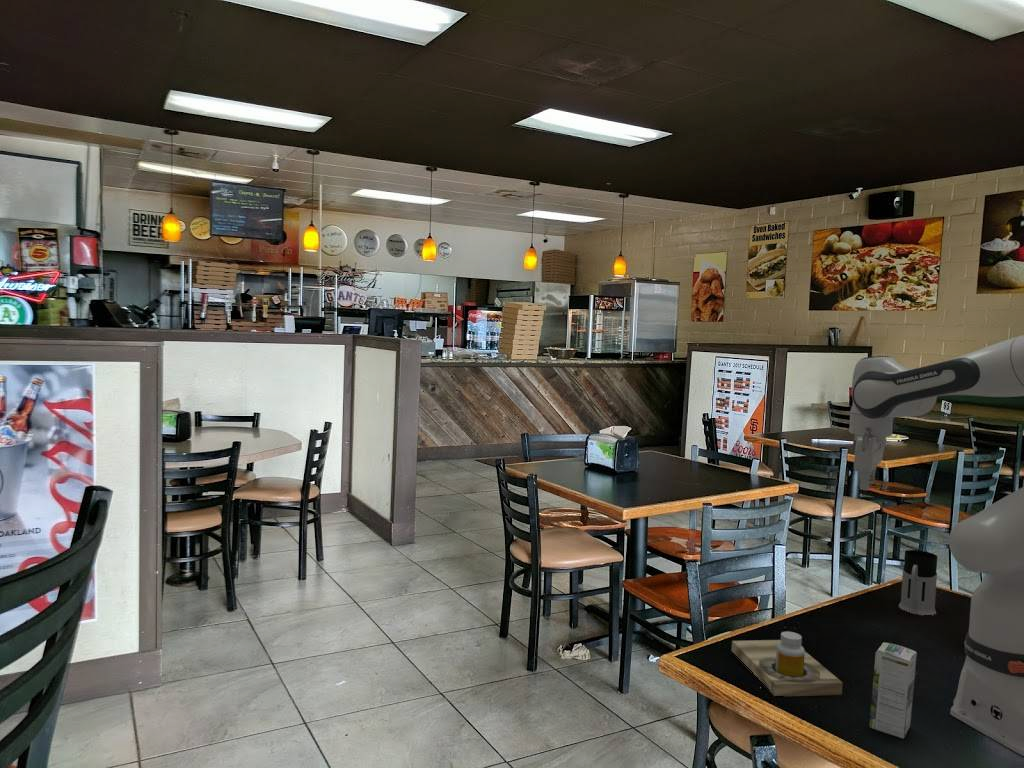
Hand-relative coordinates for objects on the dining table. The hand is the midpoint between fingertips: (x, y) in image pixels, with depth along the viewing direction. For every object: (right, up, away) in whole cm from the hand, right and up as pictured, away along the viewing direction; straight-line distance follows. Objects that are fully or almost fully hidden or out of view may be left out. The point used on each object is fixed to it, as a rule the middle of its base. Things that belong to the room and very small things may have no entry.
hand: (866, 486), depth 162 cm
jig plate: (-24, -37, -14) cm, 47 cm away
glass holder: (+25, -37, +23) cm, 50 cm away
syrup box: (-13, -39, -34) cm, 54 cm away
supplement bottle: (-25, -38, -18) cm, 49 cm away
